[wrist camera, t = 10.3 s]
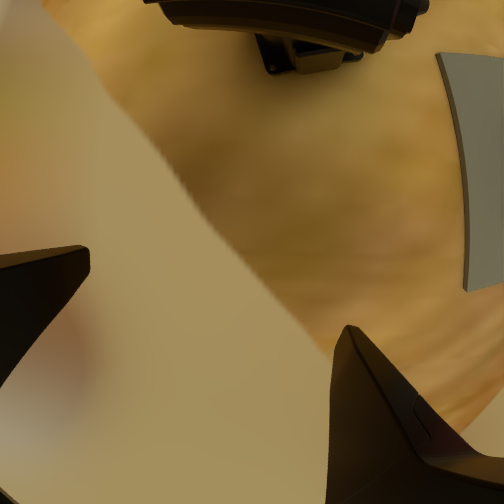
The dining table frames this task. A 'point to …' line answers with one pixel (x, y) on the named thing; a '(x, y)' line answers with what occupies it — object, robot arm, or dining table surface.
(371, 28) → the robot arm
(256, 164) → the dining table surface
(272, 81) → the dining table surface
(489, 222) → the mat
